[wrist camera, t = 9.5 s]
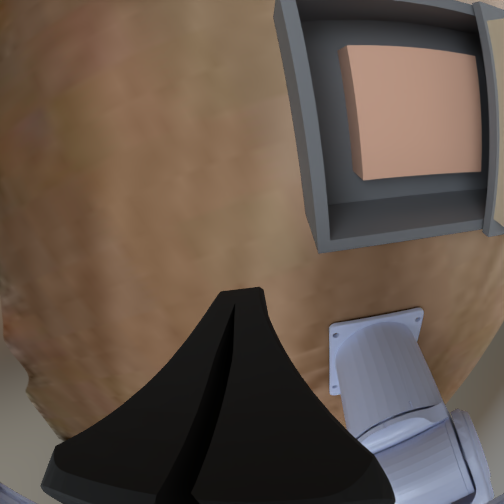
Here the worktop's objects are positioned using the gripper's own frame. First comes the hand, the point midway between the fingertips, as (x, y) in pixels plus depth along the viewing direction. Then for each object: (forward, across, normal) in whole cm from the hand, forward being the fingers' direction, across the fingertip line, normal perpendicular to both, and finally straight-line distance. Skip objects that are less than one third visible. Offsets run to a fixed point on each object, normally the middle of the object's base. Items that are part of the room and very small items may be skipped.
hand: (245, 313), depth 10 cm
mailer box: (+10, -10, -5) cm, 15 cm away
